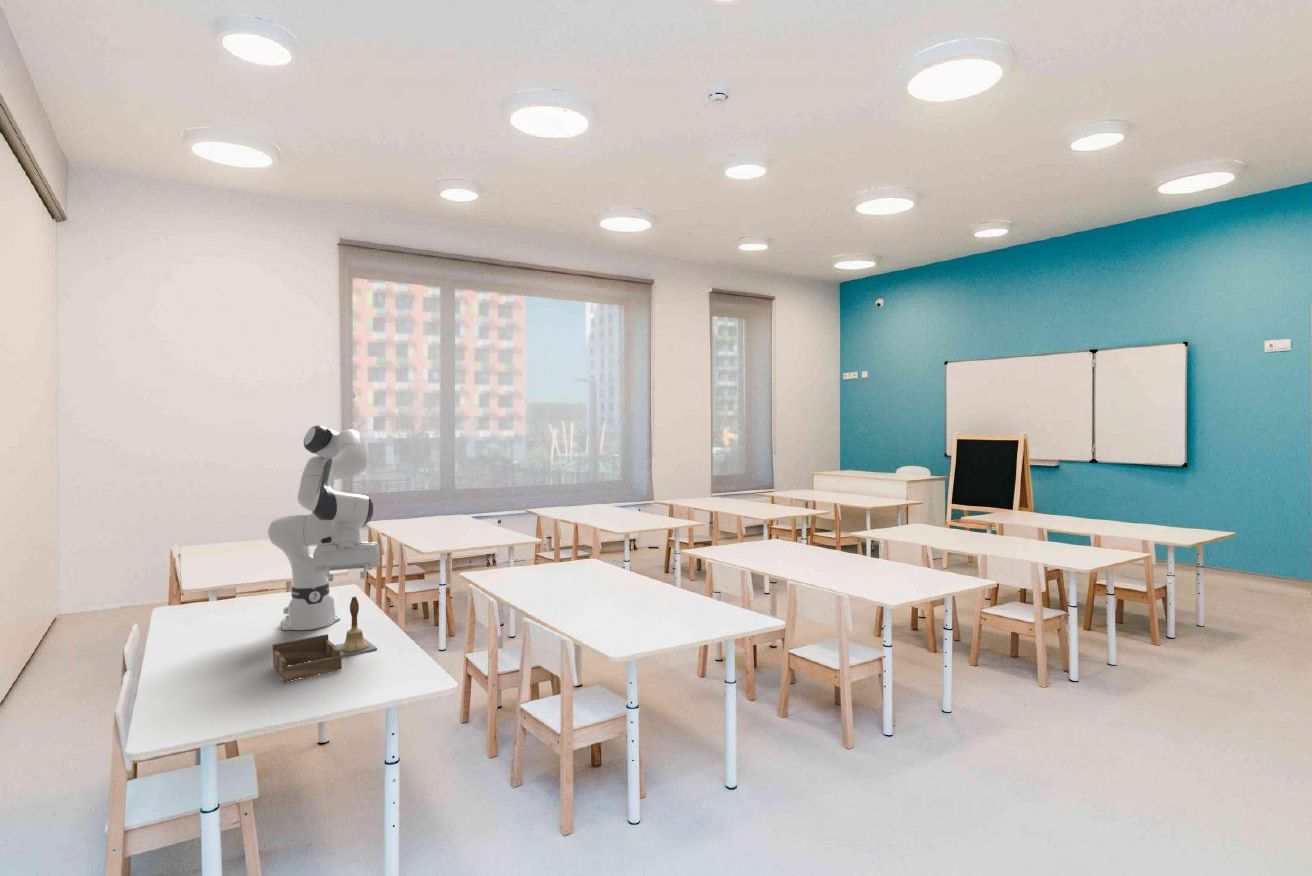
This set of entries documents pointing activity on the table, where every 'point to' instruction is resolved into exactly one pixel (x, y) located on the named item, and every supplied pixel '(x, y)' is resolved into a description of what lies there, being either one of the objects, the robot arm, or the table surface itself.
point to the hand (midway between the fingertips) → (346, 579)
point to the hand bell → (354, 631)
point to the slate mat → (345, 653)
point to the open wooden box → (306, 657)
